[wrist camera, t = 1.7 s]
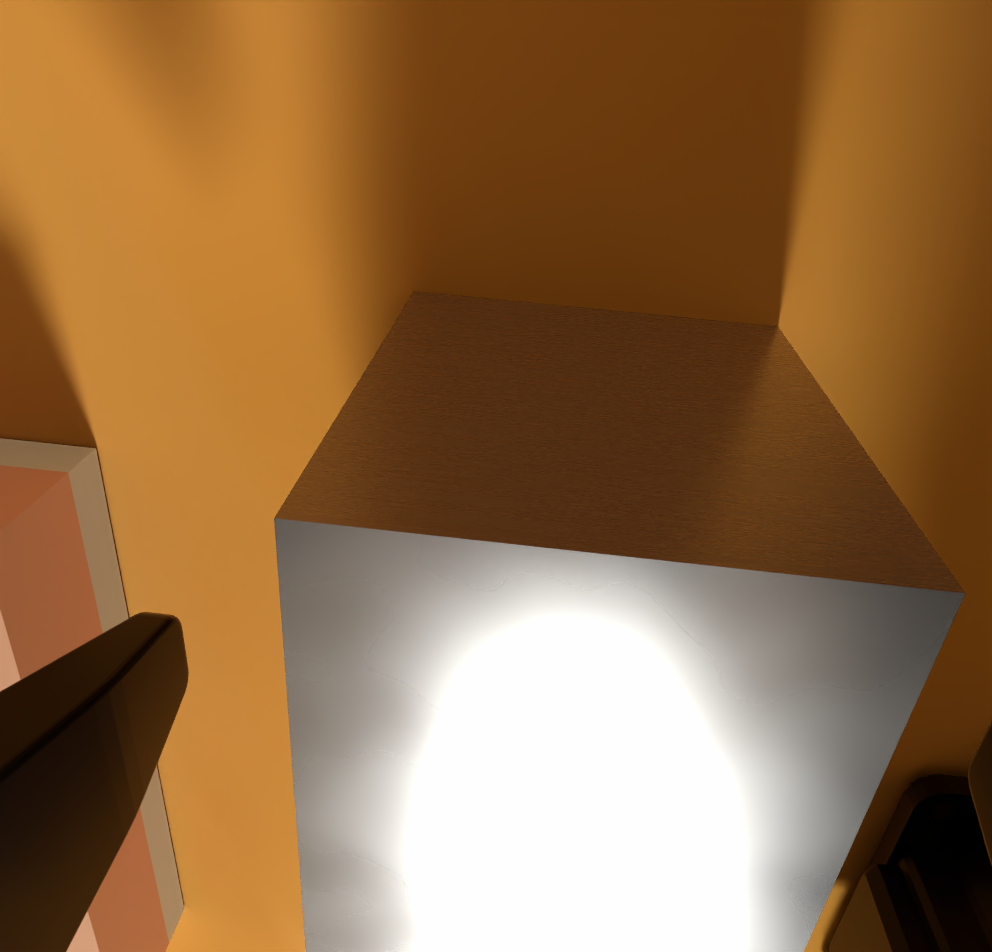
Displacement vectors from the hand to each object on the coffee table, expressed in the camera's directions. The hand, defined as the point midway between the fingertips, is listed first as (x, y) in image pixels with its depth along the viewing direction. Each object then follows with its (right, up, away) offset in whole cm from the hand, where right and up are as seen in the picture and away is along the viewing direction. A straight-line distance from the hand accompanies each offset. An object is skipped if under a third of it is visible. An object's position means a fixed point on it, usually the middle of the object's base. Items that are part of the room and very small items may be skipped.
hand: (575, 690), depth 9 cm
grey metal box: (0, +2, +4) cm, 4 cm away
